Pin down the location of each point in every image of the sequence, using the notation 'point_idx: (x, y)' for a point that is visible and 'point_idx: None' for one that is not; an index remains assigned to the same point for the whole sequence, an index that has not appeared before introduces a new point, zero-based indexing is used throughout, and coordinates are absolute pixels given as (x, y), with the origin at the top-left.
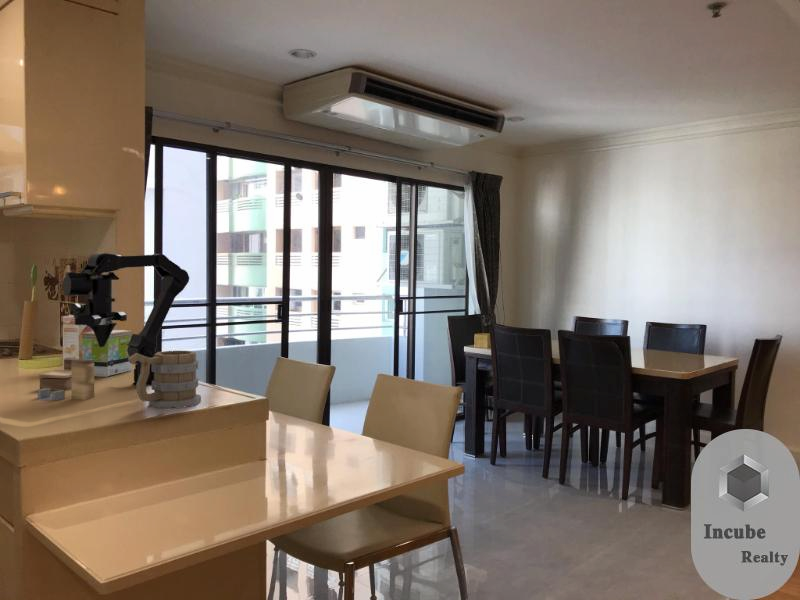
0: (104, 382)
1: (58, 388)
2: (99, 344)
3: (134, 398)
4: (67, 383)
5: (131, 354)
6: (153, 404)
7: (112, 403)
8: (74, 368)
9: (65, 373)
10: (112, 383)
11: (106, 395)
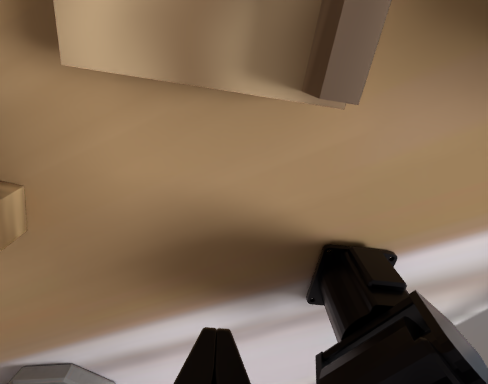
0: (407, 117)
1: None
2: (192, 351)
3: (96, 315)
4: None
5: (374, 352)
6: (10, 381)
7: (9, 290)
8: None
9: (142, 18)
10: (373, 161)
11: (121, 232)
